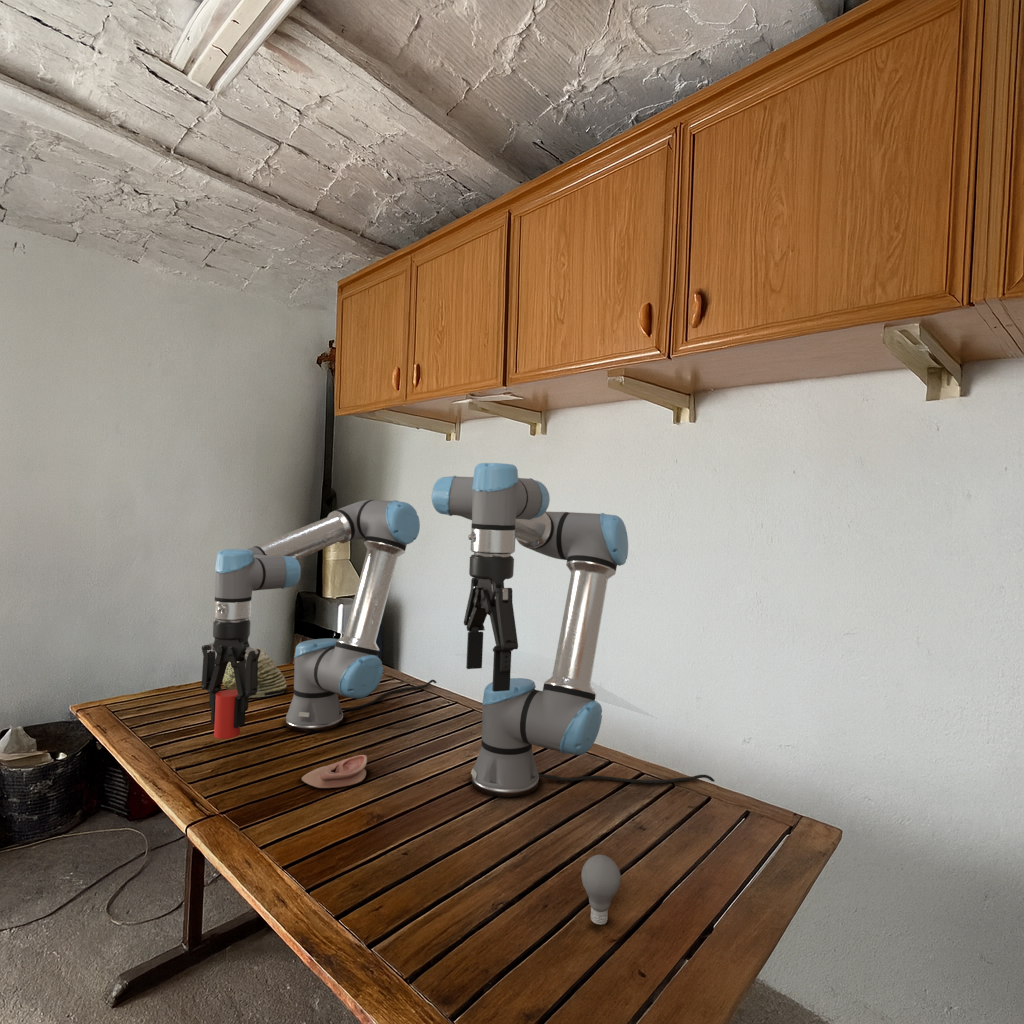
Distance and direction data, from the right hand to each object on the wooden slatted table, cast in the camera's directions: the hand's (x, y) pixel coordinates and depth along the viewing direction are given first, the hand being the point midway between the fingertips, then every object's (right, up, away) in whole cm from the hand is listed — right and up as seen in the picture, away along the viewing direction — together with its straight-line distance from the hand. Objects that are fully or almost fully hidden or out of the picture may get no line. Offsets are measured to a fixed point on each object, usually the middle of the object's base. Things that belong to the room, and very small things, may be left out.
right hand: (486, 678), depth 108 cm
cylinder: (-59, -21, +32) cm, 70 cm away
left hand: (-59, -18, +32) cm, 69 cm away
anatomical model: (-36, -32, +35) cm, 59 cm away
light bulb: (+18, -35, -10) cm, 40 cm away
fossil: (-76, -29, +90) cm, 122 cm away
